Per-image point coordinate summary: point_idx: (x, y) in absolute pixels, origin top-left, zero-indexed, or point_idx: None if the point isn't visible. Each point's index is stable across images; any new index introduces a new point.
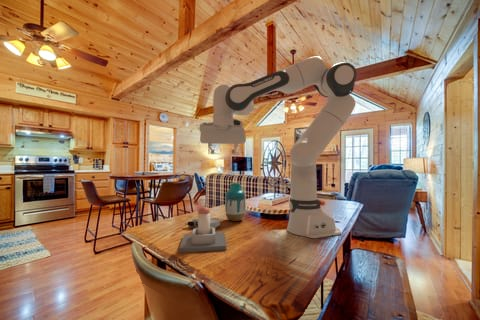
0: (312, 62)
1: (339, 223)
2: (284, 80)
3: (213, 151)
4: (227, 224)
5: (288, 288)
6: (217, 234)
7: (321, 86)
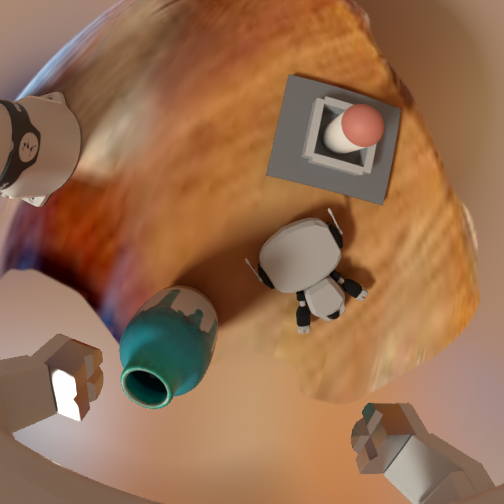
0: None
1: None
2: None
3: (387, 415)
4: (225, 277)
5: None
6: (292, 160)
7: None
